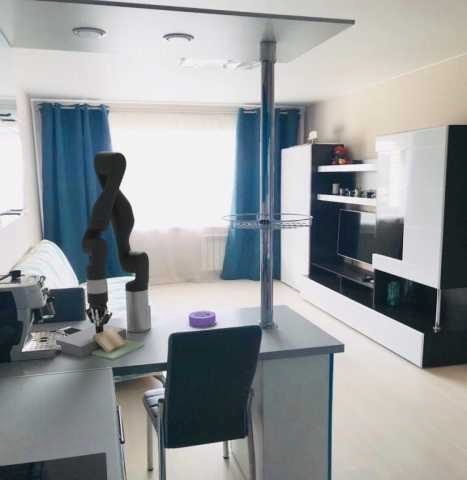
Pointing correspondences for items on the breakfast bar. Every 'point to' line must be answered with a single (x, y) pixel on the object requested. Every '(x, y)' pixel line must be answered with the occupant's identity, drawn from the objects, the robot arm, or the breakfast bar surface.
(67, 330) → the smartphone
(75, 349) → the gray rectangular box
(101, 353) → the sage mat
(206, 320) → the masking tape
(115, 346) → the cork coaster
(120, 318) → the breakfast bar surface
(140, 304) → the robot arm
